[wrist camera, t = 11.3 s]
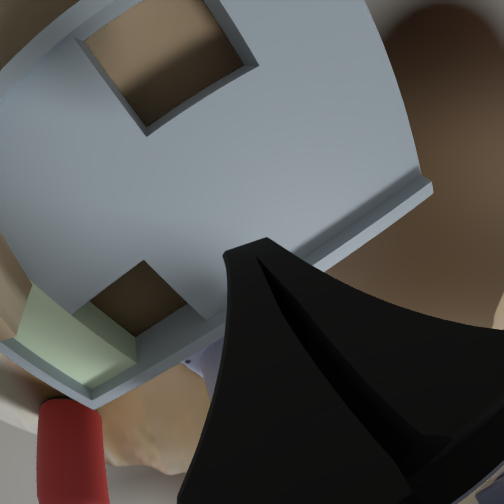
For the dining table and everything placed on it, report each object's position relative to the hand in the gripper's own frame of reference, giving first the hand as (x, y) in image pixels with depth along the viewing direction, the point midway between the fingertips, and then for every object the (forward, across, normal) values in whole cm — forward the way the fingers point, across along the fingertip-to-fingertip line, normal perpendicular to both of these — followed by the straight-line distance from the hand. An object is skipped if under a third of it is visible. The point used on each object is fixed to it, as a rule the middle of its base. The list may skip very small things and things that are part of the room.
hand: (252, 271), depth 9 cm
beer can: (+10, +19, +18) cm, 28 cm away
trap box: (+10, +2, 0) cm, 10 cm away
